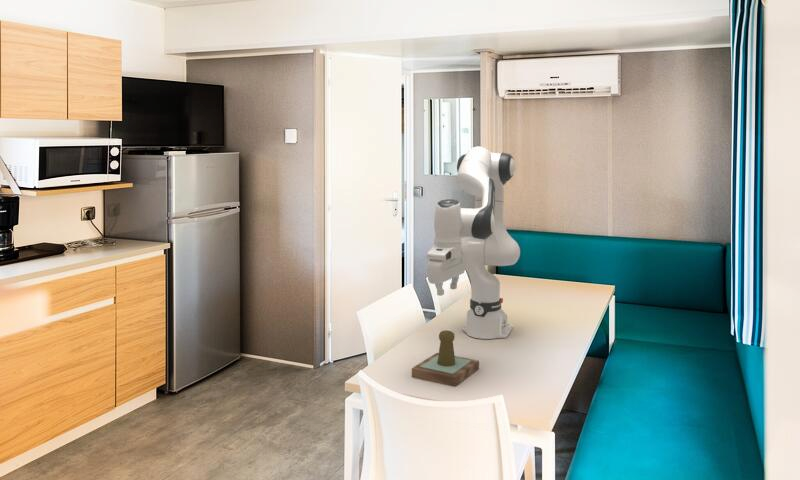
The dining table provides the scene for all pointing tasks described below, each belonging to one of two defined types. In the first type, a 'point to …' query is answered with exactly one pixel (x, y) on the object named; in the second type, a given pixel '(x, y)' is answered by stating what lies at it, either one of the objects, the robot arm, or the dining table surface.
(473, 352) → the dining table surface
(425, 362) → the wooden tray
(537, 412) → the dining table surface
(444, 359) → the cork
